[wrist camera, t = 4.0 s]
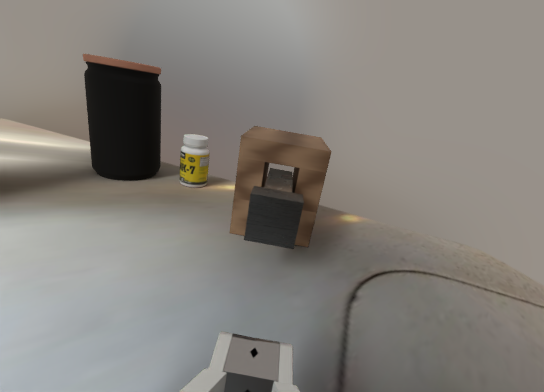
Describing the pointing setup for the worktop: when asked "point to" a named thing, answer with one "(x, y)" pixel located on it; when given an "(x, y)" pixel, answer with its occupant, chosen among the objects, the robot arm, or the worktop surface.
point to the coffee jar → (123, 117)
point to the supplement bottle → (194, 161)
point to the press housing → (285, 151)
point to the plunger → (274, 211)
